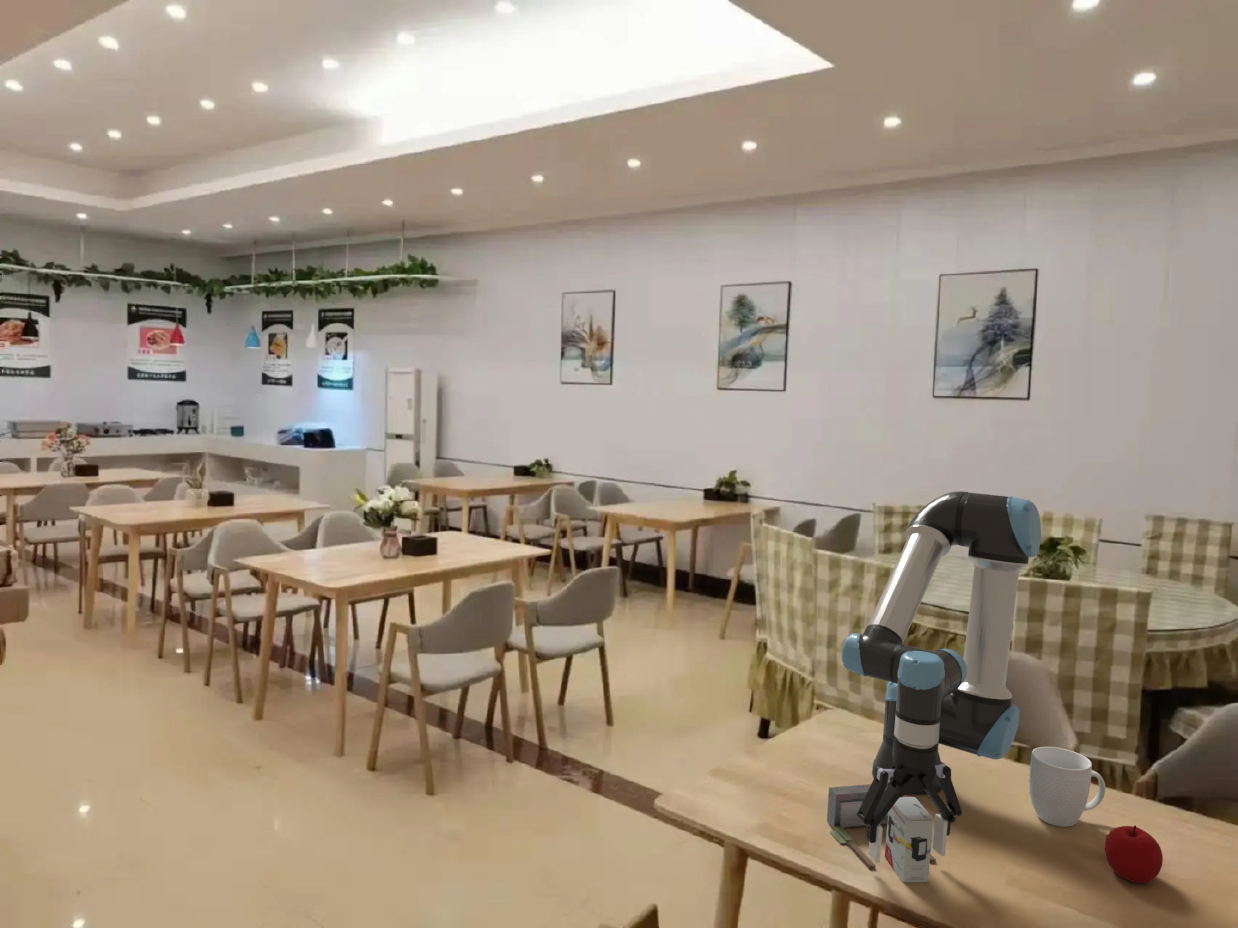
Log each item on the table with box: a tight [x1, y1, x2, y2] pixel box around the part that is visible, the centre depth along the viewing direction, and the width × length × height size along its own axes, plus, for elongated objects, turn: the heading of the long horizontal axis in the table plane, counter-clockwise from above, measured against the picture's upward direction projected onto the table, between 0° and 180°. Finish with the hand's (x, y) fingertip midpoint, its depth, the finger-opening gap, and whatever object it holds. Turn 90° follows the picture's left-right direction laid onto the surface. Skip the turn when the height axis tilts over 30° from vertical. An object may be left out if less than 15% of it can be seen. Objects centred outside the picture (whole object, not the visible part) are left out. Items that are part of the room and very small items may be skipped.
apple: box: [1104, 825, 1164, 884], centre depth 157 cm, size 9×9×10 cm
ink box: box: [884, 796, 934, 883], centre depth 156 cm, size 9×5×12 cm, turn 5°
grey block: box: [826, 783, 888, 829], centre depth 172 cm, size 13×4×7 cm, turn 103°
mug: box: [1028, 746, 1106, 828], centre depth 177 cm, size 15×11×13 cm
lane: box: [829, 826, 937, 870], centre depth 165 cm, size 16×14×1 cm
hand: (906, 855), depth 157 cm, fingers open, 12 cm apart
